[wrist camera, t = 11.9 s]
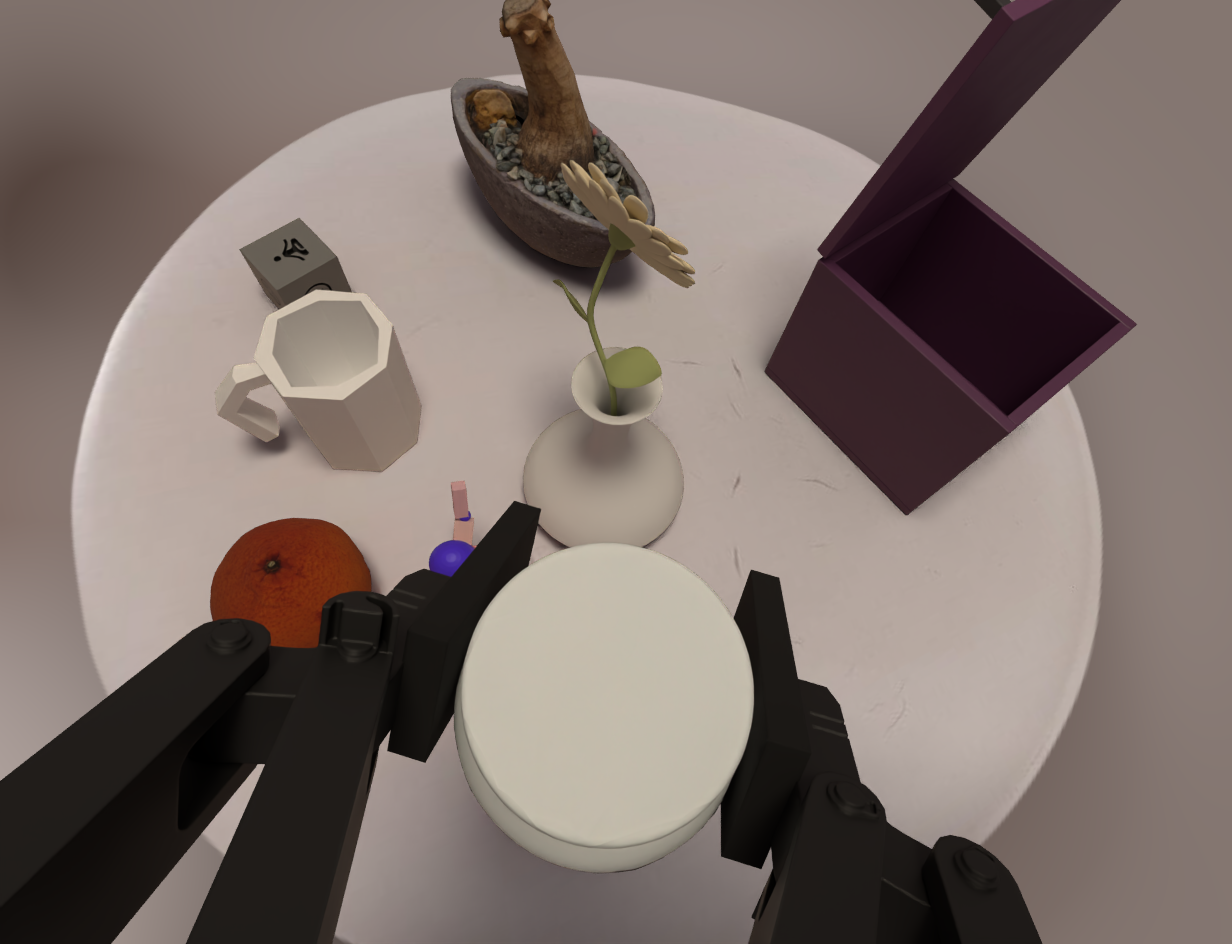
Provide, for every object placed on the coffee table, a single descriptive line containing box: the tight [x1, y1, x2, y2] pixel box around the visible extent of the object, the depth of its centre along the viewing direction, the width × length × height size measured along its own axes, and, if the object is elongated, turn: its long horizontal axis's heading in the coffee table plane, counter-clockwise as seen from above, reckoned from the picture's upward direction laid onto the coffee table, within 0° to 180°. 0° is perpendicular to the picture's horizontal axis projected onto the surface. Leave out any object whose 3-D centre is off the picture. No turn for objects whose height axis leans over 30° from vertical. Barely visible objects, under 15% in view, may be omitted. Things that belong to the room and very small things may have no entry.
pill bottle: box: [454, 543, 754, 873], centre depth 15 cm, size 6×6×10 cm
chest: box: [765, 179, 1137, 515], centre depth 49 cm, size 16×14×13 cm
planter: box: [451, 0, 655, 268], centre depth 50 cm, size 15×17×20 cm
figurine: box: [429, 481, 477, 577], centre depth 39 cm, size 3×12×11 cm, turn 12°
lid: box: [817, 0, 1121, 258], centre depth 38 cm, size 16×14×6 cm
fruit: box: [210, 518, 371, 648], centre depth 41 cm, size 9×9×8 cm
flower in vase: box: [523, 160, 695, 547], centre depth 38 cm, size 13×11×25 cm
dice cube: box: [239, 218, 352, 309], centre depth 52 cm, size 5×5×5 cm
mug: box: [215, 290, 421, 472], centre depth 45 cm, size 12×9×10 cm
